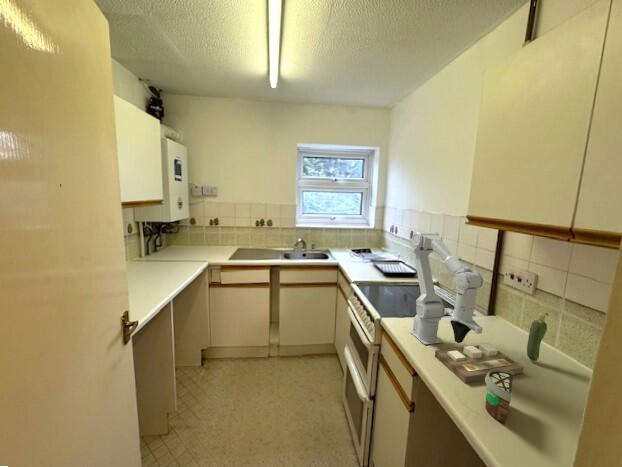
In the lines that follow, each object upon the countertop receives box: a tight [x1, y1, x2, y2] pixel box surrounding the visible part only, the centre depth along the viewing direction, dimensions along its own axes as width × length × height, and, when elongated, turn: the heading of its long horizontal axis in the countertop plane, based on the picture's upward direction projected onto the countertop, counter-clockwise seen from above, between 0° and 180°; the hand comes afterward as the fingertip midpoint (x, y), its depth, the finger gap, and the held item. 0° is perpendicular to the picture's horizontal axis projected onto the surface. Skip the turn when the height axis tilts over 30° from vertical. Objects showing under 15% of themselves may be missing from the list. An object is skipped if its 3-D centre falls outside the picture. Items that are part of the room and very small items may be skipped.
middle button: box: [463, 345, 482, 359], centre depth 98 cm, size 4×4×2 cm
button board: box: [434, 344, 525, 384], centre depth 96 cm, size 14×24×3 cm, turn 105°
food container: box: [484, 369, 515, 426], centre depth 76 cm, size 12×6×10 cm, turn 141°
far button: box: [478, 343, 499, 357], centre depth 100 cm, size 4×4×2 cm
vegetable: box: [526, 311, 549, 364], centre depth 98 cm, size 4×4×20 cm
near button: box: [447, 350, 466, 361], centre depth 96 cm, size 4×4×2 cm
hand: (458, 341), depth 95 cm, fingers closed
